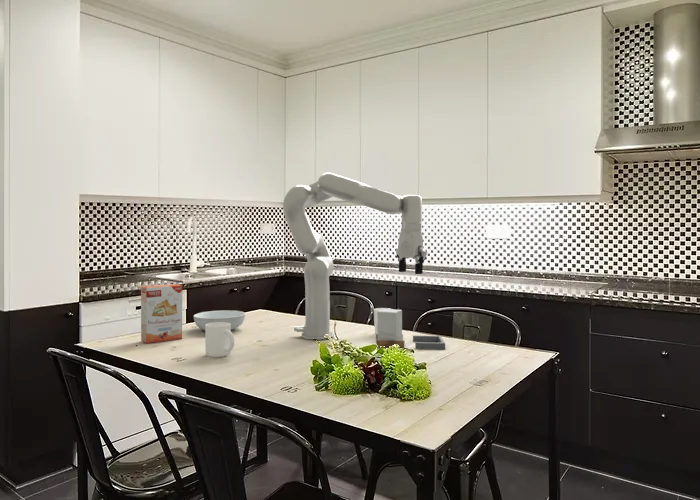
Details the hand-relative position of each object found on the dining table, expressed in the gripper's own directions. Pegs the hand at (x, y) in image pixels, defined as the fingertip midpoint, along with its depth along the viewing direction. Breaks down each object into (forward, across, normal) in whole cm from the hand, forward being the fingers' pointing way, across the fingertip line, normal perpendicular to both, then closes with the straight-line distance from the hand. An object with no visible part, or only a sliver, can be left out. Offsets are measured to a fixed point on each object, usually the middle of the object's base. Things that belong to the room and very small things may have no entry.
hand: (410, 272), depth 205 cm
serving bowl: (+27, -57, -54) cm, 83 cm away
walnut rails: (+26, +1, -10) cm, 28 cm away
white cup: (+26, -15, -1) cm, 30 cm away
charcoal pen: (+26, +10, +1) cm, 28 cm away
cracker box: (+27, -49, -80) cm, 98 cm away
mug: (+27, -14, -69) cm, 75 cm away
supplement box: (+26, +1, -10) cm, 28 cm away
